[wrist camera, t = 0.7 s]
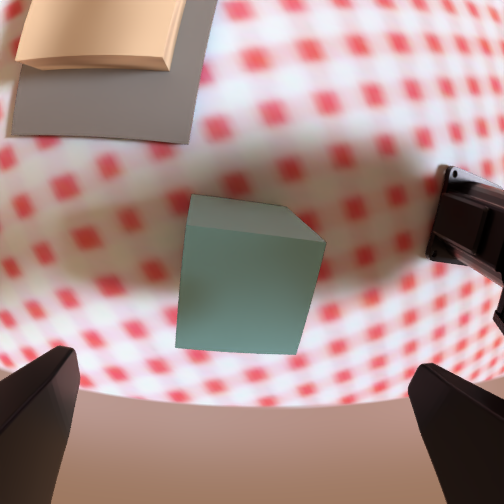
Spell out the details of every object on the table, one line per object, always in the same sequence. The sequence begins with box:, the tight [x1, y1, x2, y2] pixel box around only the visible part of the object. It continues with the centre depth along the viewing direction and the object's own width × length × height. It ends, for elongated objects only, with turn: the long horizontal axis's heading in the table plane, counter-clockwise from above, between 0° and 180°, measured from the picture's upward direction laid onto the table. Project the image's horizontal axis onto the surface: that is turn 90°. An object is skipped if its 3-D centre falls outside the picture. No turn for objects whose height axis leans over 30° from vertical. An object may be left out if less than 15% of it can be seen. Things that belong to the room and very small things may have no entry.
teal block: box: [175, 194, 326, 355], centre depth 15 cm, size 5×5×6 cm
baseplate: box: [11, 0, 218, 144], centre depth 12 cm, size 10×14×1 cm
